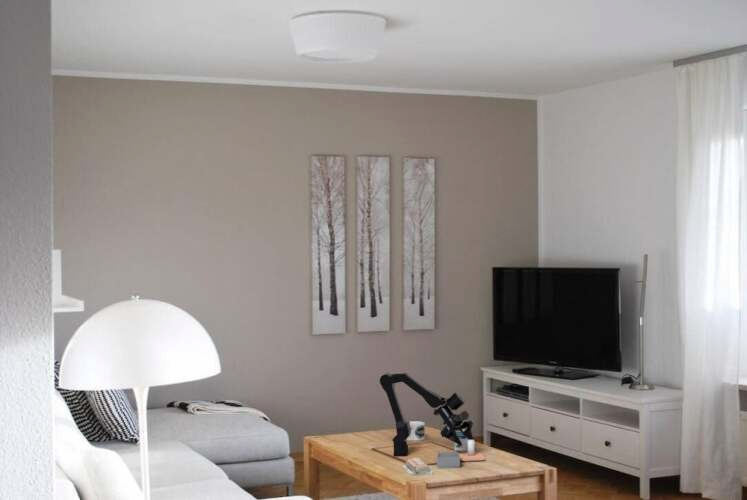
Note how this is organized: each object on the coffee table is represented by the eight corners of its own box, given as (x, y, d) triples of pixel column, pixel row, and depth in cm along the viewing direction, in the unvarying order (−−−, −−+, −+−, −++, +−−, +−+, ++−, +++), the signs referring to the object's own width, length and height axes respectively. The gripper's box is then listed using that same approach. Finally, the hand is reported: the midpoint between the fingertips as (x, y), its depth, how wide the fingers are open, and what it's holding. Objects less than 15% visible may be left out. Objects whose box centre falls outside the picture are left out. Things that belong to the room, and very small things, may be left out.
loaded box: (437, 468, 439) (437, 457, 439) (437, 463, 449) (436, 452, 449) (459, 467, 438) (459, 456, 438) (459, 462, 448) (458, 451, 448)
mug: (412, 436, 514) (411, 420, 514) (429, 438, 508) (428, 422, 508) (397, 440, 503) (397, 424, 503) (414, 442, 497) (414, 426, 497)
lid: (462, 463, 449) (461, 442, 449) (458, 458, 459) (457, 438, 459) (484, 462, 450) (484, 441, 450) (480, 457, 460) (479, 437, 460)
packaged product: (433, 464, 427) (410, 465, 426) (433, 475, 428) (411, 477, 426) (423, 455, 445) (402, 457, 443) (423, 466, 445) (402, 468, 443)
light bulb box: (468, 451, 474) (467, 428, 474) (454, 450, 475) (453, 428, 475) (470, 446, 484) (469, 424, 484) (456, 446, 486) (456, 424, 486)
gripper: (445, 408, 453) (464, 435, 445) (469, 403, 466) (489, 429, 459) (432, 423, 458) (451, 450, 450) (456, 418, 472) (475, 444, 464)
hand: (467, 443), depth 456 cm, fingers open, 9 cm apart
